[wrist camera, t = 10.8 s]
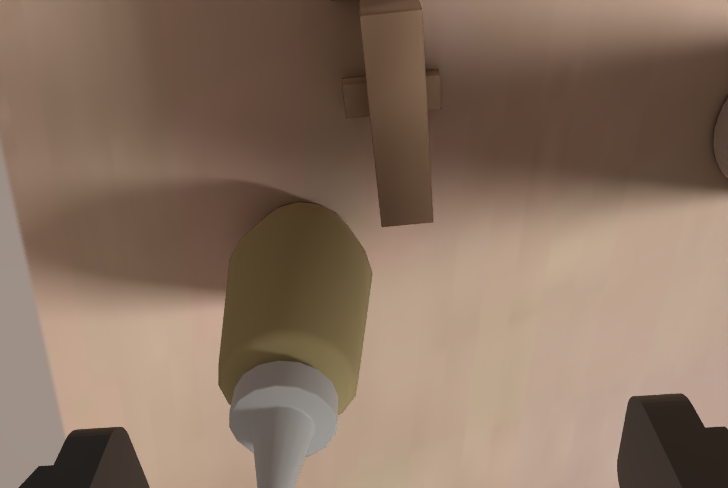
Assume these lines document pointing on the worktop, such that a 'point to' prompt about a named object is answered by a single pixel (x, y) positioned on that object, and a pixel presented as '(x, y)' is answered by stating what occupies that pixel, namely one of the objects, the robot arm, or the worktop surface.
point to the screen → (396, 107)
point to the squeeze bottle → (292, 336)
